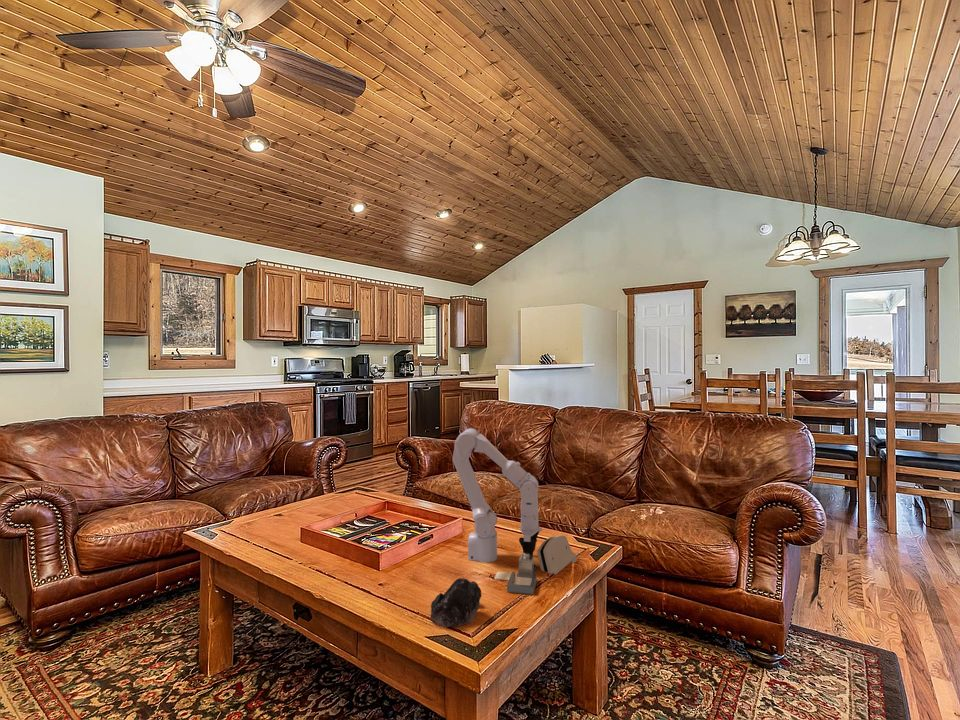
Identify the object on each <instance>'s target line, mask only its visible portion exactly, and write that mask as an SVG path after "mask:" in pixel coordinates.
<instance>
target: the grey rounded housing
mask: <svg viewBox="0 0 960 720" xmlns="http://www.w3.org/2000/svg"><path fill="white" fill-rule="evenodd" d="M536 554H537V559H538V563H539V567H540V571H541V572H544V573H548V574H553V575H557V574H558V573H559V572H561V571H562V570H563V569H564V568H565V567H566V566H568V565H569V564H570V563H571V565H573V564H574V563H576V562H577V561H578V557H577V554H576V553H574V552H573V549H572V548H571V545H570V542H569V541H568V538H567V536H566V535H554V536H551V537H548V538H546V539H545V540H544V541H542V543H541V544H540V546H539V547H538V549H537V552H536Z"/></svg>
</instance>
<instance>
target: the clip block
mask: <svg viewBox="0 0 960 720" xmlns="http://www.w3.org/2000/svg"><path fill="white" fill-rule="evenodd" d="M534 559H535V558H534V554H533V555H529V553H527V552H525V553H523V552H522V553H521V554H520V555H519V558H518V570H519V573H530V574H532V572H533V568H534V564H535V563H534Z"/></svg>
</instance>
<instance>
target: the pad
mask: <svg viewBox="0 0 960 720" xmlns="http://www.w3.org/2000/svg"><path fill="white" fill-rule="evenodd" d="M511 573H512V572H507V571H496V573H495V576H494V578H493V579H494V580H504V581H509V578H510V576H511Z"/></svg>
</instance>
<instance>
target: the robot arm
mask: <svg viewBox="0 0 960 720" xmlns="http://www.w3.org/2000/svg"><path fill="white" fill-rule="evenodd" d="M472 452H474V453H484V454H485V455H486V456H487V457H488V458H490V459H491V460H492V461H493V462H494V463H495V464H496V465H498V466H499V467H500V468H501V472H502V473H501V474H502V475H503V476H504V477H505V478H507V480H509V481H510V482H511V483H512V484H513V485H514V486H515V487H516V488H519V493H520V494H521V498H520V529H519V530H520V532H521V533H522V535H523V537H519V538H518V541H519V544H520V546H521V548H522V551H523V552H522V554H523V553H525V552H527V553H529V555H533V556H534V552H535V550H536V546H537V542H538V540H537V539H538V535H539V533H540V532H542V531H543V528H542V527H540V526H539V500H538V498H539V497H538V496H539V495H538V492H539V481H538V479H537V478H536V476H535V475H532V474H531V472H527V471H526V470H525V469H523V467H522V466H521V463H520V462H519V461H517V462H516V461H515V460H510V459H509V460H508V458H506V457H505V455H503V454H502V453H501V452H500V451H499V450H498V449H497V447H496V446H494V445H493V443H491V441H490V440H488V438H487V437H486V436H485V435H484V434H482V433H480V432H479V430H477V429H476V428H473V427H469V428H466V429H465V430H464V431H462V432H461V433H460V434H459V435H458V436H457V437H456V439H455V441H454V449H453V453H452V462H453V465H454V467H455V470H456V472H457V475H458V477H459V479H460V482H461V484H462V487H463V490H464V491H465V494H466V497H467V499H468V502H469V504H470V507H471V511H472V518H473V521H474V526H473V527H474V531H475V532H470V533H469V536H468V540H467V541H468V542H467V548H468V550H467V555H468V556H467V560H468V561H474V562H480V563H493V562H495V561H496V560H497V559H498V532H497V530H496V528H495V527H496V526H497V525H496V524H497V523H498V517H497V514H496V513H495V512H494V511H493V510H492V509H491V506H490V504H488V503H487V501H486V499H485V497H484V493H483V492H482V490H481V487H480V484H479V482H478V479H477V477H476V474H475V472H474V469H473V466H472V465H471V462H470V460H469V459H470V456H471V454H472Z"/></svg>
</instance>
